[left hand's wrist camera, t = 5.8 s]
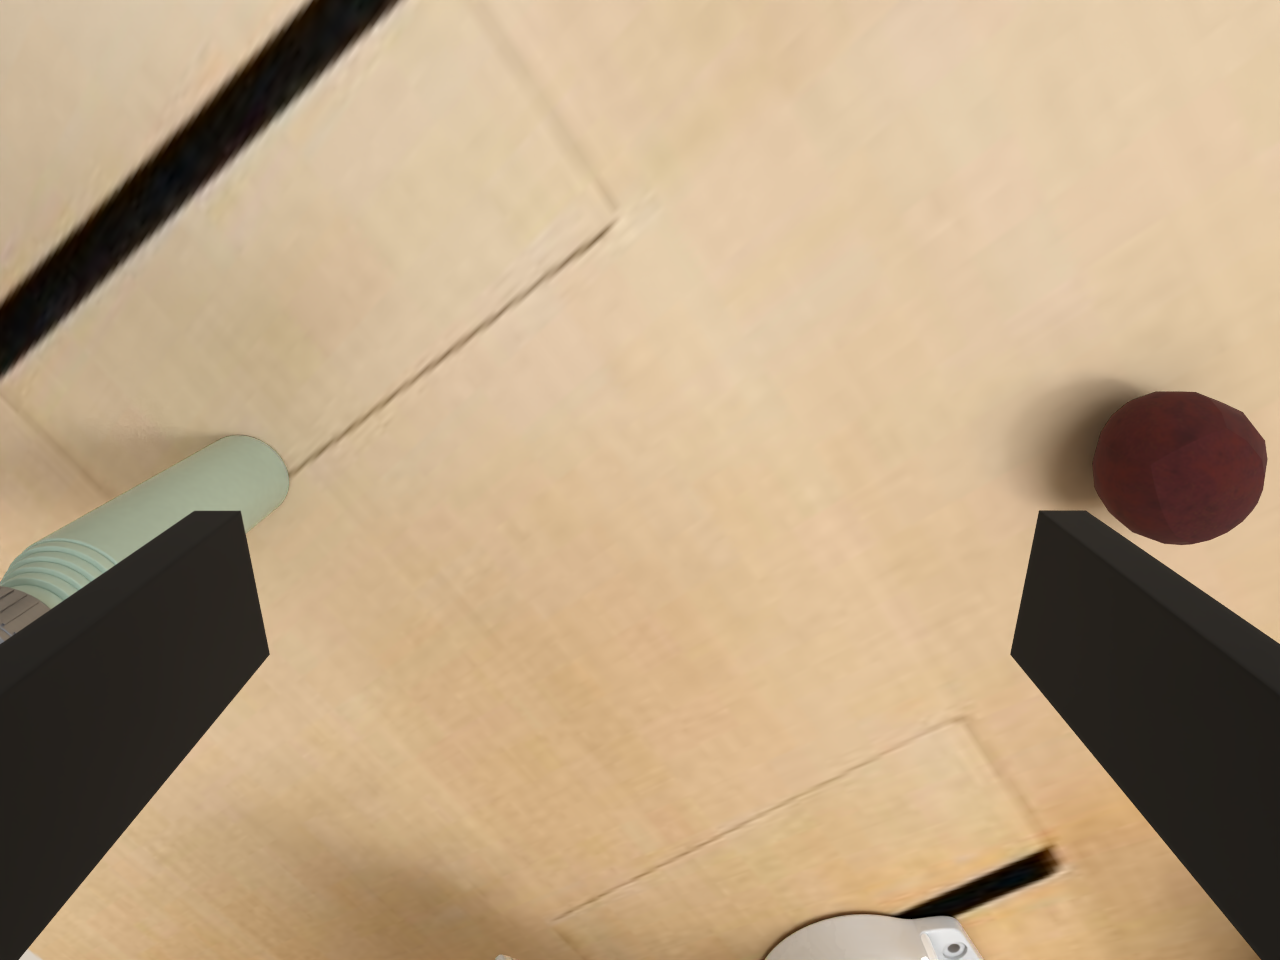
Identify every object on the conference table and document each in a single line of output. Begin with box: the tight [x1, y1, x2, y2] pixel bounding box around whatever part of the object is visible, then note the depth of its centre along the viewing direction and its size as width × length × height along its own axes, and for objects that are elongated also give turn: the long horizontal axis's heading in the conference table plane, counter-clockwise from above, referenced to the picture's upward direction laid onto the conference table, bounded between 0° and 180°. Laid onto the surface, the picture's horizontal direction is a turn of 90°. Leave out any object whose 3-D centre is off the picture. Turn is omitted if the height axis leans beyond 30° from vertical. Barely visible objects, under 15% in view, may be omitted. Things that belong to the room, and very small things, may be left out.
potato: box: [1093, 392, 1267, 545], centre depth 38 cm, size 7×8×7 cm
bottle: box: [0, 435, 289, 609], centre depth 33 cm, size 5×5×18 cm
